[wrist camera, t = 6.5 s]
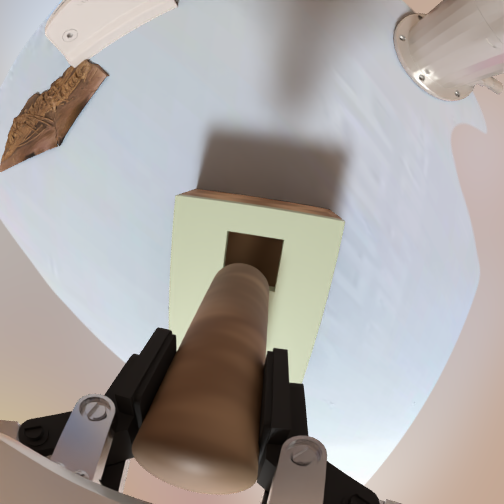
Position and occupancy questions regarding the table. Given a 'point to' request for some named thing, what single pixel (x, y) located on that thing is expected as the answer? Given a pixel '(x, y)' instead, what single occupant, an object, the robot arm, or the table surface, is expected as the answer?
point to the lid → (288, 276)
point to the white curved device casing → (98, 24)
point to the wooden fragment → (51, 114)
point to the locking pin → (212, 392)
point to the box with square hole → (252, 246)
